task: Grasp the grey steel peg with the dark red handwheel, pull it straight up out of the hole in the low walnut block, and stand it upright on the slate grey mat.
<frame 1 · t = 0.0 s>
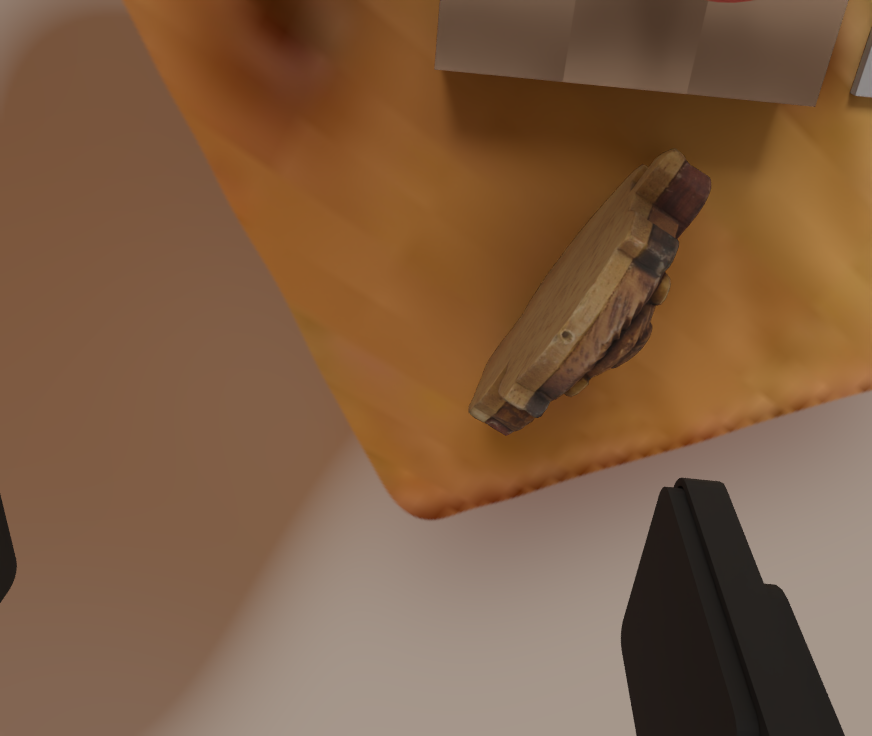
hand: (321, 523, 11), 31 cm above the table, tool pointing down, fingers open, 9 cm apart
wooden carving: (574, 266, 43), on the table
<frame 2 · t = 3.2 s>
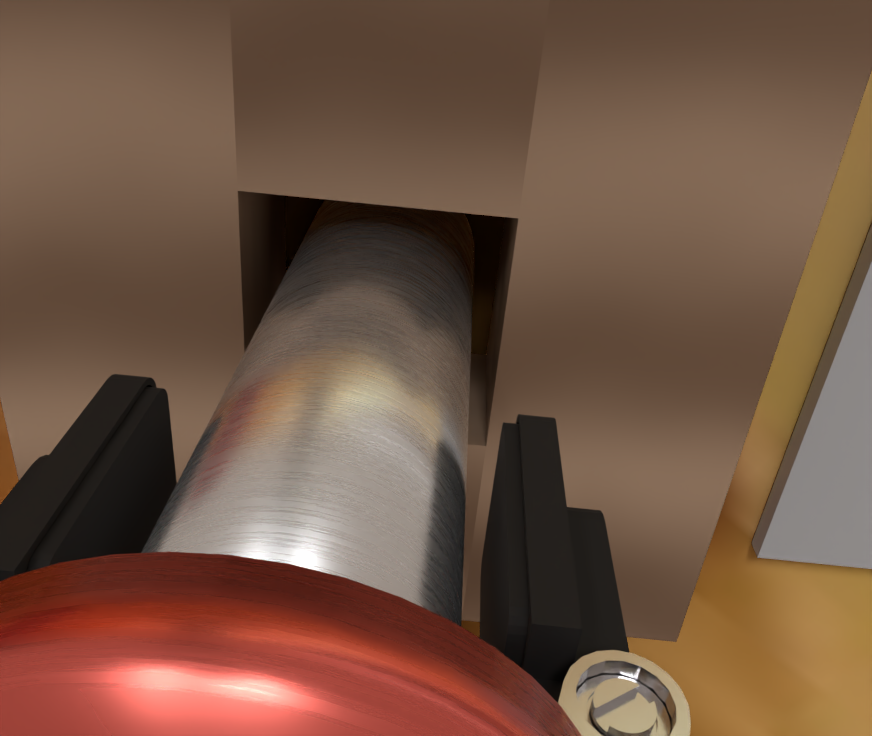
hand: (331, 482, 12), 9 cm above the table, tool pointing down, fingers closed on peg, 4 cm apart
peg: (345, 431, 13), in the eye block, touching gripper
eye block: (391, 251, 20), on the table
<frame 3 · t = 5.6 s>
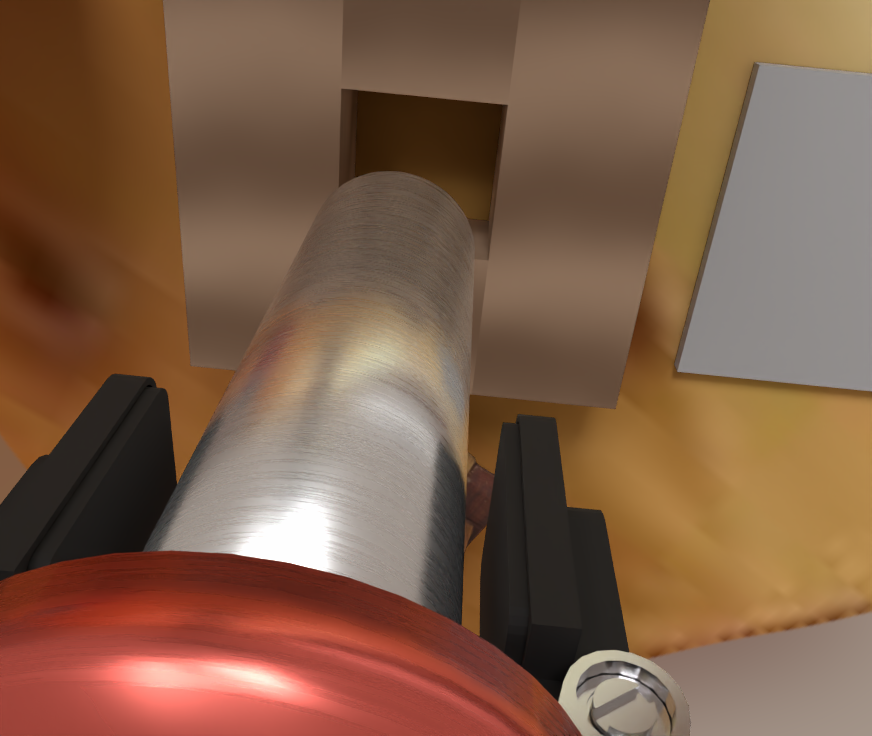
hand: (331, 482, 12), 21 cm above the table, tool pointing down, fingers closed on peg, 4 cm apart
peg: (345, 431, 13), point 19 cm above the table, touching gripper
mat: (842, 240, 31), on the table
wooden carving: (397, 518, 39), on the table
eye block: (426, 146, 30), on the table
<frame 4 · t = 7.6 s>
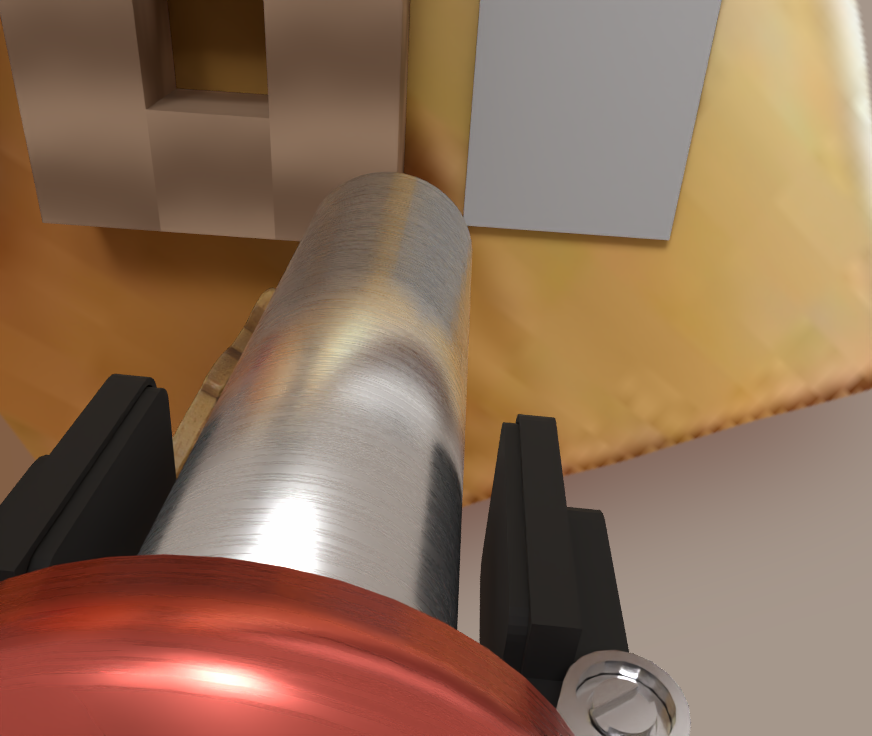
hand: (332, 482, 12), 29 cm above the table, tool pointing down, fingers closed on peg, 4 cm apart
peg: (342, 433, 13), point 27 cm above the table, touching gripper
mat: (583, 103, 37), on the table
wooden carving: (254, 374, 46), on the table
eye block: (228, 31, 36), on the table
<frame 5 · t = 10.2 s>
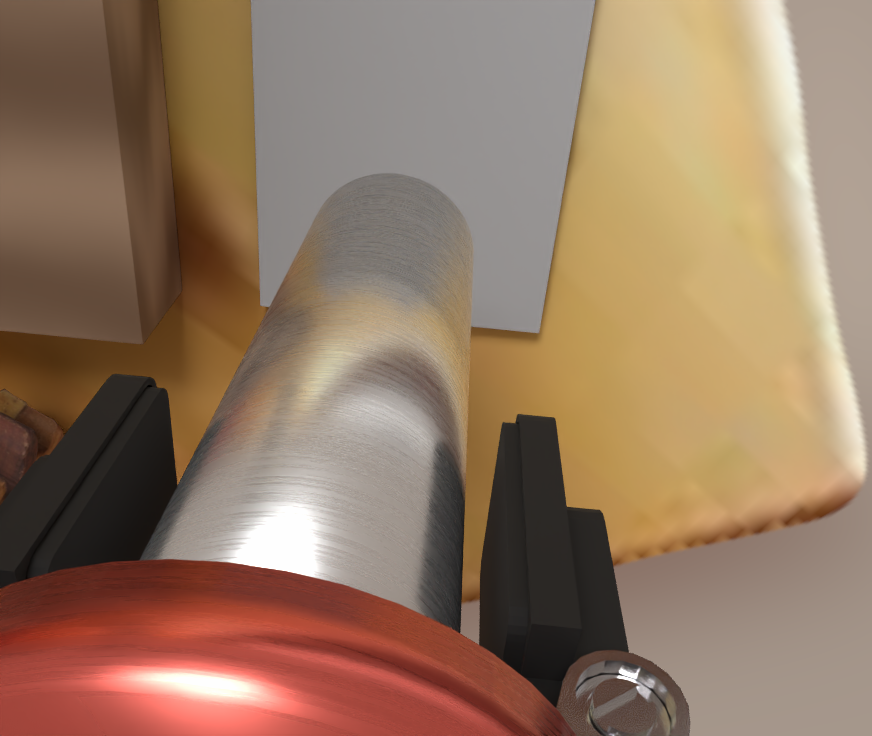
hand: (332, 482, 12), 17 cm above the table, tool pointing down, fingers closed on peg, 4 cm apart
peg: (344, 435, 13), point 16 cm above the table, touching gripper
mat: (412, 148, 27), on the table
wooden carving: (17, 479, 35), on the table
when the fingers open (11 cm above the table, at t = 12.3 s): peg drops 1 cm, resting on mat.
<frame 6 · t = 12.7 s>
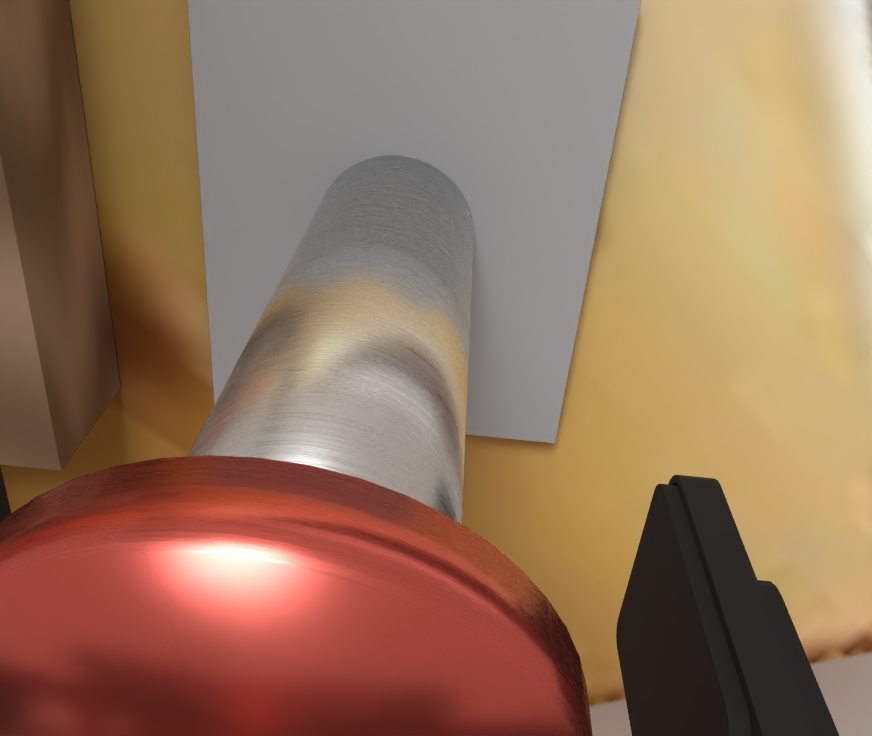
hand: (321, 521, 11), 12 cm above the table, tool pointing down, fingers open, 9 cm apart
peg: (353, 392, 14), on the mat, point 8 cm above the table
mat: (398, 225, 21), on the table
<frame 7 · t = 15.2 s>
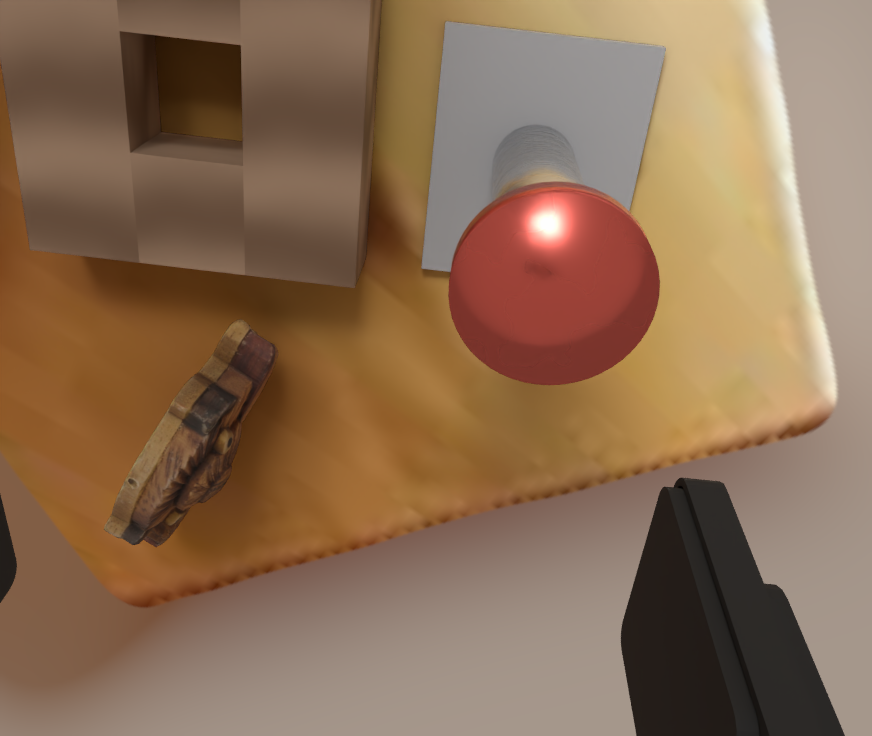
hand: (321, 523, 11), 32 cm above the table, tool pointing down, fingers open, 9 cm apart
peg: (541, 217, 33), on the mat, point 8 cm above the table
mat: (534, 163, 40), on the table
wooden carving: (223, 396, 49), on the table
eye block: (210, 83, 39), on the table
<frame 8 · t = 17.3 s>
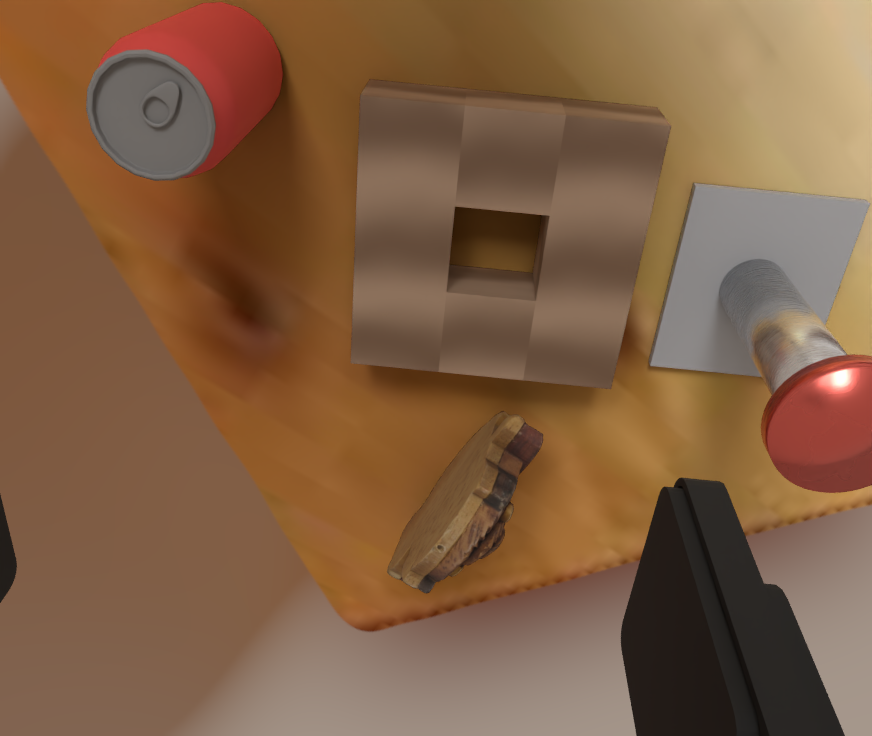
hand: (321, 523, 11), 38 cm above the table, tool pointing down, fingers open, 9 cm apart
peg: (792, 350, 43), on the mat, point 8 cm above the table
mat: (750, 285, 50), on the table
wooden carving: (465, 463, 59), on the table
eye block: (495, 229, 49), on the table
beer can: (227, 64, 46), on the table
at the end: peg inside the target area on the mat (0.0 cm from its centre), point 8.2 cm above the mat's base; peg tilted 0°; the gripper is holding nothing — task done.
